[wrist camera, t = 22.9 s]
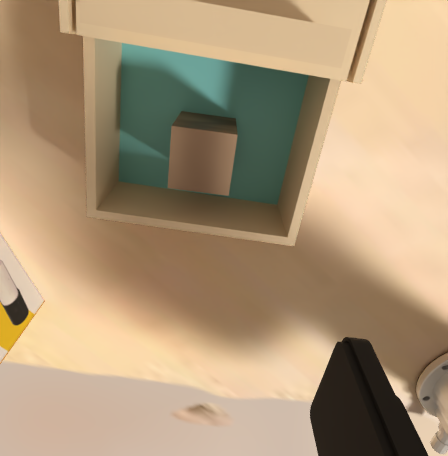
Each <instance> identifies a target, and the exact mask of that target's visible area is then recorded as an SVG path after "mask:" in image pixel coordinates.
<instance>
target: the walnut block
mask: <svg viewBox="0 0 448 456" xmlns="http://www.w3.org/2000/svg"><path fill="white" fill-rule="evenodd" d="M237 136H238V133H237V125H236V118H229V117H221V116H214V115H207V114H200V113H192V112H185V111H181V113H180V114H179V116H178V117H177V119H176V120H175V121H174V123H173V124H172V127H171V142H170V158H169V174H168V188H171V189H178V190H186V191H194V192H202V193H210V194H218V195H226V196H229V190H230V183H231V176H232V170H233V163H234V156H235V150H236V143H237Z"/></svg>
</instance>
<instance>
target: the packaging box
mask: <svg viewBox="0 0 448 456" xmlns="http://www.w3.org/2000/svg"><path fill="white" fill-rule="evenodd" d="M44 302H45V300H44V298H43V297H42V295H41V294H40V292H39V291H38V289H37V288H36V286H35V285H34V283H33V282H32V280H31V279H30V277H29V276H28V274H27V273H26V271H25V269H24V268H23V266H22V265H21V263H20V262H19V260H18V259H17V257H16V256H15V254H14V253H13V251H12V250H11V248H10V247H9V245H8V244H7V242H6V241H5V239H4V238H3V236H2V235H1V233H0V364H1V362H2V361H3V359H4V358H5V357H6V355H7V354H8V352H9V351H10V350H11V348H12V347H13V345H14V344H15V342H16V341H17V340H18V338H19V337H20V335H21V334H22V333H23V331H24V330H25V328H26V327H27V326H28V324H29V323H30V321H31V320H32V318H33V317H34V316H35V314H36V313H37V311H38V310H39V309H40V307H41V306H42V304H43V303H44Z"/></svg>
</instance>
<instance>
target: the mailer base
mask: <svg viewBox="0 0 448 456" xmlns="http://www.w3.org/2000/svg"><path fill="white" fill-rule="evenodd" d="M83 67H84V115H85V162H86V210H87V217H88V218H95V219H103V220H110V221H117V222H124V223H131V224H138V225H145V226H152V227H159V228H167V229H174V230H181V231H188V232H195V233H202V234H209V235H216V236H223V237H231V238H238V239H245V240H252V241H259V242H266V243H273V244H280V245H287V246H294V245H295V242H296V238H297V235H298V231H299V228H300V224H301V221H302V217H303V214H304V210H305V207H306V203H307V199H308V196H309V192H310V189H311V185H312V182H313V178H314V175H315V171H316V168H317V164H318V161H319V157H320V154H321V150H322V147H323V143H324V140H325V136H326V133H327V129H328V126H329V122H330V118H331V115H332V111H333V108H334V104H335V101H336V97H337V94H338V90H339V87H340V83H341V81H340V80H335V79H329V78H323V77H317V76H311V75H306V74H300V73H294V72H288V71H282V70H277V69H271V68H265V67H259V66H254V65H248V64H242V63H236V62H230V61H225V60H219V59H213V58H207V57H201V56H196V55H190V54H184V53H178V52H172V51H167V50H161V49H155V48H149V47H144V46H138V45H132V44H126V43H120V42H115V41H109V40H103V39H97V38H91V37H86V36H83ZM181 111H185V112H192V113H200V114H207V115H214V116H221V117H229V118H236V125H237V133H238V136H237V143H236V150H235V156H234V163H233V170H232V176H231V183H230V190H229V196H226V195H218V194H210V193H202V192H194V191H186V190H178V189H171V188H168V174H169V158H170V142H171V127H172V124H173V123H174V121H175V120H176V119H177V117H178V116H179V114H180V113H181Z"/></svg>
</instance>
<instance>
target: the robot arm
mask: <svg viewBox="0 0 448 456" xmlns="http://www.w3.org/2000/svg"><path fill="white" fill-rule="evenodd" d="M416 393H417V397H418V399H419V401H420V403H421V405H422V406H423V408H424V409H425V410H426V411H427V412H428V413H430V414H432V415H434V416H435V417H438V419H439V421H440V423H439V426H438V427H439V431H438V432H437V433H436V434H435V436H434V437H433V438H432V440H431V446H432V448H433V449H434V450H435V451H436V452H438V453H440V454H445V453H446V452H447V451H448V352H447V353H446V354H444V355H442V356H440V357H438V358H437V359H436V360H434V361H433V362H432V363H430V364H429V365H428V366H427V367H426V368H425V370H424V371H423V372H422V374H421V375H420V377H419V379H418V382H417V386H416ZM310 419H311V424H312V429H313V433H314V437H315V442H316V446H317V451H318V456H428V454H427V452H426V450H425V448H424V446H423V444H422V442H421V440H420V437H419V435H418V434H417V431H416V430H415V428H414V425H413V423H412V421H411V419H410V417H409V415H408V413H407V411H406V409H405V407H404V405H403V403H402V402H401V400H400V399H399V398H398V397H397V396H396V395H395V393H394V391H393V389H392V387H391V385H390V383H389V381H388V379H387V377H386V374H385V372H384V370H383V368H382V366H381V364H380V362H379V360H378V358H377V356H376V354H375V352H374V349H373V347H372V345H371V344H370V342H369V341H368V340H365V339H357V338H349V337H345V338H344V339H343V341H342V342H337V343H336V345H335V348H334V350H333V353H332V355H331V358H330V360H329V363H328V365H327V368H326V370H325V373H324V375H323V378H322V380H321V382H320V385H319V387H318V390H317V392H316V395H315V397H314V400H313V402H312V405H311V410H310Z"/></svg>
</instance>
